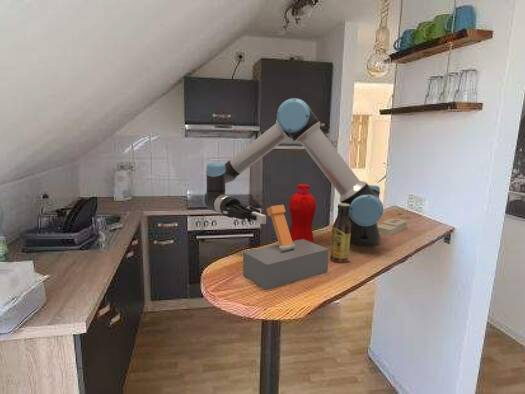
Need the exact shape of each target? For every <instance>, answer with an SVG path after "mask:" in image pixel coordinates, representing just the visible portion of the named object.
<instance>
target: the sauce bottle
mask: <svg viewBox="0 0 525 394" xmlns="http://www.w3.org/2000/svg"><path fill="white" fill-rule="evenodd" d="M349 210H350V204H346V203H341V202H339V203H338V204H337V214H336V218H335V220H334V222H333V225H332V230H331V238H330V242H331V243H330V249H329V251H330V252H329V254H330V255H329V257H330V260H331V261H333V262H335V263H345V262H347V261H348V260H349V253H350V245H351V243H350V236H351V222H350V220H349Z"/></svg>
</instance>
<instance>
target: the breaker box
mask: <svg viewBox="0 0 525 394" xmlns="http://www.w3.org/2000/svg"><path fill="white" fill-rule="evenodd" d="M292 242H293V243H294V244H295V249H291V250H287V251H283V252H280V251H279V243H277V244H274V245H269V246H264V247H261V248H260V247H259V248H256V249H251V250H245V251H243V252H242V254H243V256H242V276H243V277H245V278H247V279H248V280H250V281H251V282H252V283H254V284H255V285H257V286H258V287H260V288H261V289H263V290H264V291H269V290H273V289H276V288H279V287H283V286H286V285H288V284H289V285H290V284H292V283H295V282H298V281H302V280H305V279H309V278H312V277H315V276H317V275H322V274H326V273H328V269H329V256H330V255H329V254H330V252H329V251H330V249H329V248H327V247H324V246H322V245H320V244H316V243H315V242H314V243H312V242H309V241H307V240H304V239H301V240H296V241H292Z"/></svg>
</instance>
